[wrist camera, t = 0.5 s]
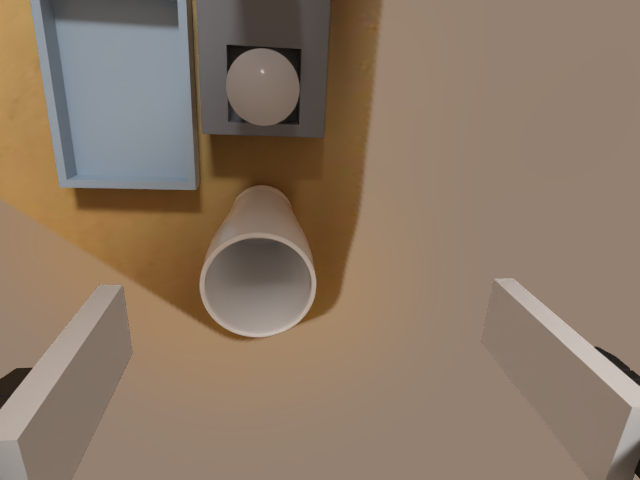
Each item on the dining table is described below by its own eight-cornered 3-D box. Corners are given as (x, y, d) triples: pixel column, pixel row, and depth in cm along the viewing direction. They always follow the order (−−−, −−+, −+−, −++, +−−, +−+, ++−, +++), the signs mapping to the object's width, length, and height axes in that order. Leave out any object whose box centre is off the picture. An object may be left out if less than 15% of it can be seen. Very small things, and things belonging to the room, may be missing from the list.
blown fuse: (237, 55, 33) (223, 45, 23) (291, 58, 34) (301, 49, 23) (238, 111, 35) (225, 125, 24) (290, 113, 35) (299, 127, 25)
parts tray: (44, -16, 31) (26, -24, 29) (191, -6, 32) (185, -12, 30) (73, 180, 36) (59, 187, 34) (200, 183, 37) (195, 190, 35)
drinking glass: (242, 259, 40) (229, 356, 26) (209, 192, 37) (175, 259, 23) (311, 232, 40) (335, 314, 26) (282, 163, 37) (291, 212, 23)
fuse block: (200, -109, 30) (190, -135, 26) (328, -96, 31) (336, -120, 28) (208, 128, 36) (202, 133, 32) (318, 132, 37) (323, 137, 33)
